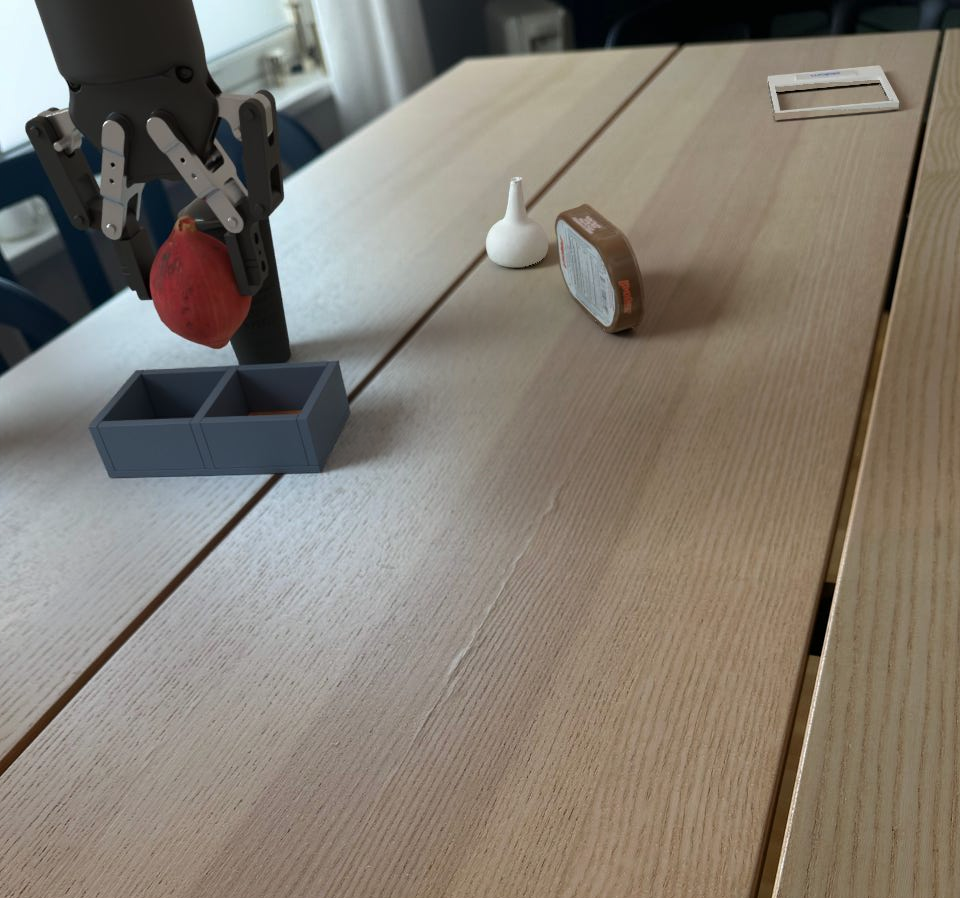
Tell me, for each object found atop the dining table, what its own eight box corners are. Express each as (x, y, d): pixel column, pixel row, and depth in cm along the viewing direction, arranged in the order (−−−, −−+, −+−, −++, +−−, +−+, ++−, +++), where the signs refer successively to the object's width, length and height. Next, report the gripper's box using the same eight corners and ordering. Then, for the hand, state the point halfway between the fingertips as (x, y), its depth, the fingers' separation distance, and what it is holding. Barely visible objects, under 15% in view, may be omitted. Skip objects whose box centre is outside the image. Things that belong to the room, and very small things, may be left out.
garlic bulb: (494, 249, 107) (485, 169, 101) (553, 246, 105) (547, 165, 100) (482, 273, 102) (472, 191, 97) (544, 271, 101) (537, 187, 95)
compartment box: (109, 478, 80) (87, 426, 77) (154, 419, 87) (135, 369, 84) (321, 472, 77) (306, 418, 74) (350, 412, 83) (338, 360, 80)
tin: (648, 341, 86) (647, 242, 81) (614, 350, 86) (610, 251, 80) (585, 281, 97) (580, 190, 92) (554, 289, 97) (547, 198, 92)
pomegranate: (205, 378, 60) (163, 243, 55) (153, 355, 63) (109, 225, 58) (282, 340, 63) (249, 208, 58) (229, 320, 66) (193, 193, 61)
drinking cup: (283, 381, 89) (217, 137, 76) (209, 377, 92) (132, 141, 79) (320, 342, 94) (264, 108, 81) (249, 339, 97) (183, 112, 84)
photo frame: (880, 63, 137) (899, 100, 124) (878, 72, 138) (898, 109, 125) (768, 74, 140) (775, 111, 127) (767, 83, 141) (774, 120, 127)
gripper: (265, -67, 51) (333, 263, 62) (12, -38, 54) (119, 273, 65) (211, -41, 46) (296, 316, 57) (-68, -10, 49) (65, 324, 60)
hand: (201, 292), depth 61 cm, fingers closed on pomegranate, 6 cm apart
